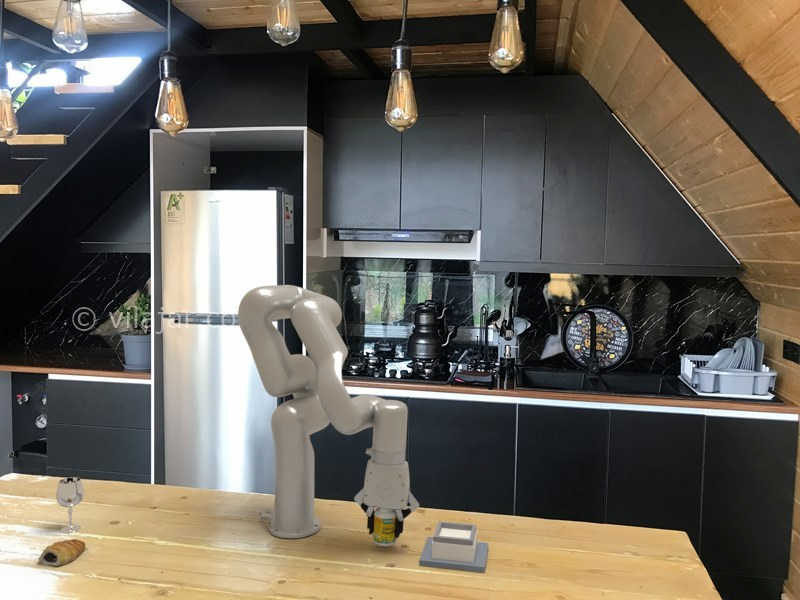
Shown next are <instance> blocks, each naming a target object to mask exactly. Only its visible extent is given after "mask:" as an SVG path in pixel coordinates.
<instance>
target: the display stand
mask: <svg viewBox="0 0 800 600" xmlns="http://www.w3.org/2000/svg"><path fill="white" fill-rule="evenodd" d="M425 541H426V542H425V544H424V546H423V550H422V552H421V554H420V557H419V562H418V564H419V565H418V566H420V567H428V568H429V567H430V568H437V569H447V570H455V569H457V570H458V571H464V570H465V571H466V572H473V571H475V572H476V573H482V574H483V573H485V572H486V567H485V566H487V559H488V552H489V542H485V541H478V529H477V524H473V523H462V522H455V521H454V522H451V521H440V520H439V521H438V522H437V525H436V528H435V530H434V534H433V536H428V537H427V539H426V540H425ZM457 570H456V571H457Z"/></svg>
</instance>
